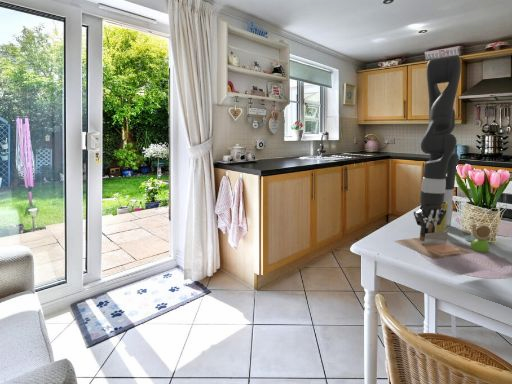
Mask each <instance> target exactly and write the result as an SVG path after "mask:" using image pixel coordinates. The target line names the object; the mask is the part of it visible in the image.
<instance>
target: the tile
mask: <svg viewBox="0 0 512 384" xmlns="http://www.w3.org/2000/svg"><path fill="white" fill-rule="evenodd" d="M425 249H427V250H430V251H432V252H434V253H437V254H439V255H441V256H443V255H449V254H455V253H459V251H460V250H459V249H457V248H454V247H452V246H449V245H447V244H438V245H431V246H425Z"/></svg>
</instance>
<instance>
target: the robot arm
mask: <svg viewBox="0 0 512 384" xmlns="http://www.w3.org/2000/svg"><path fill="white" fill-rule="evenodd" d="M461 73H462V60H461V57H460V56H459V55H450V56H442V57H436V58H432V59H430V60H428V62H427V63H426V83H427V91H428V93H427V94H428V126H427V129H426V131H425V133H424V135H423V138H422V139H421V142H420V149H421V151H422V152H423V153H424V154H429V160H428V161H426V162H425V163H424V168H423V176H422V181H421V188H420V193H419V194H420V197H419V202H420V204H421V205H420V207H419V210H414V212H413V217H414V219H415V222H416V224H417V226H419V227H420V229H421V227H422V229H421V236H422V237H425V234H427V233H428V230H429V228H428V227H429V222H430V223H433V227H432V233H435V227H436V226H437V225H440V224H441V222H442V220H443V218H444V216H445V214H446V212H447V216H446V227H449V226H451V224H452V218H453V210H454V205H453V200H454V191H455V190H454V189H455V182H456V176H457V171H456V166H457V165H459V158H460V157H459V154H458V153H457V152H454V151H455V149H456V147H457V137H456V136H455V135H454V134H452V133H453V131H454V129H455V126H456V111H455V109H454V104H455V99H456V96H457V92H458V87H459V83H460V78H461ZM445 83H448V84H447V86H446V87H445V88H444V90H443V91H442V93H441V91H440V89H439V86H438V84H445ZM444 202H448V208H447V211H446V210H443V209H441V205H442V204H443V203H444ZM438 218H439V220H438ZM425 221H426V224H425ZM432 221H433V222H432Z"/></svg>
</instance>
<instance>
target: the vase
mask: <svg viewBox="0 0 512 384" xmlns="http://www.w3.org/2000/svg"><path fill="white" fill-rule="evenodd" d="M447 208H448V202H444V203H443V204H442V205H441V209H443V210H446V211H447ZM446 216H447V212H446V214H445V216H444V218H443V220H442V222H441V224H440V225H437V226H436V227H435V232H443V231H446ZM438 220H439V218H438ZM432 222H433V221H432Z"/></svg>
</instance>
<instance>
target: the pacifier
mask: <svg viewBox="0 0 512 384" xmlns="http://www.w3.org/2000/svg"><path fill="white" fill-rule="evenodd" d="M476 230H477V228H476ZM463 239H465V242H470V243H472V241H473V240H475V239H477V238H475V237H474V235H473V230H472V231H471V234H469V235H465V236H463Z"/></svg>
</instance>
